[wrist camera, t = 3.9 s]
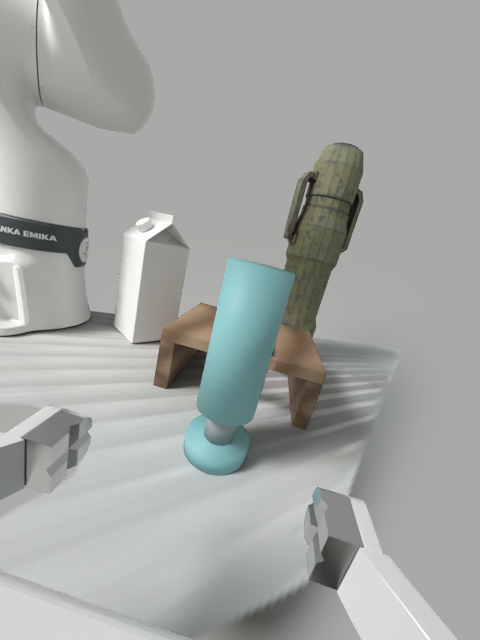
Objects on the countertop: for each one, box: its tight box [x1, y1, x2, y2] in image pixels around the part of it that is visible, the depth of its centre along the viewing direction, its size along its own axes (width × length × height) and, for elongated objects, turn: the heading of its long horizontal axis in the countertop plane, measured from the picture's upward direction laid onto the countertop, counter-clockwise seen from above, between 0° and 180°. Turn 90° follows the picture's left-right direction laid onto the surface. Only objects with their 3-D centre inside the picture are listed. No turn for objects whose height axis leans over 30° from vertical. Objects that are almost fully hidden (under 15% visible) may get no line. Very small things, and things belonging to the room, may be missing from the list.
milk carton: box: [114, 211, 189, 343], centre depth 41 cm, size 7×7×19 cm
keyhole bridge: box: [153, 303, 326, 430], centre depth 36 cm, size 18×15×7 cm
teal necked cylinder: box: [184, 258, 295, 475], centre depth 21 cm, size 6×6×16 cm
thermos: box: [272, 143, 363, 356], centre depth 46 cm, size 9×12×35 cm
